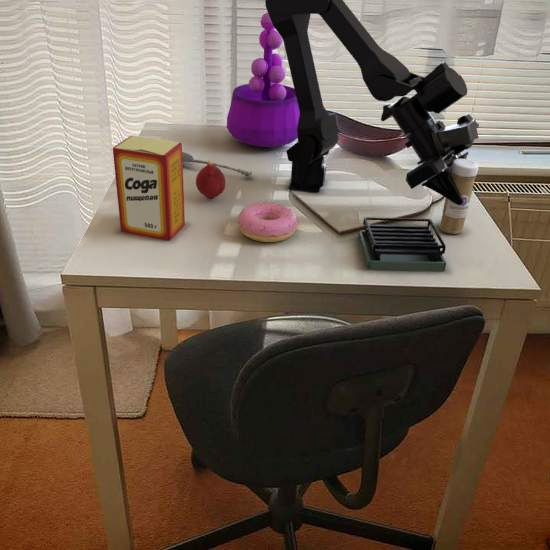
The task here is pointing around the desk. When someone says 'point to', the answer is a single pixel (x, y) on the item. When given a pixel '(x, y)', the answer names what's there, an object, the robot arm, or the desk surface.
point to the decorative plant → (265, 99)
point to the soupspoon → (189, 158)
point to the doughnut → (267, 222)
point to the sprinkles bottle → (464, 181)
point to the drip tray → (398, 259)
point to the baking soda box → (150, 186)
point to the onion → (210, 181)
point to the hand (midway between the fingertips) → (465, 199)
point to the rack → (403, 239)
